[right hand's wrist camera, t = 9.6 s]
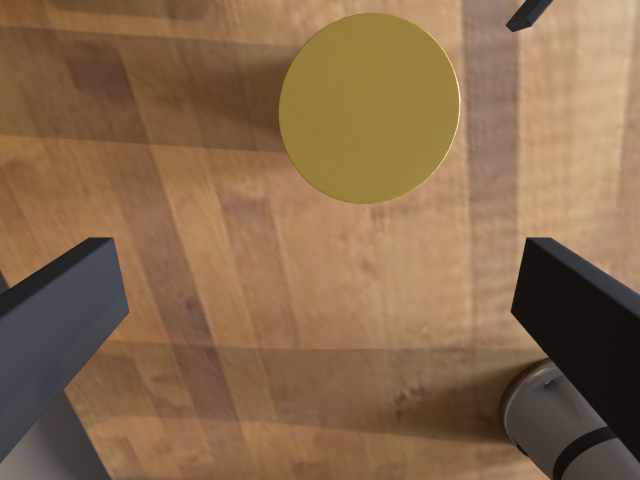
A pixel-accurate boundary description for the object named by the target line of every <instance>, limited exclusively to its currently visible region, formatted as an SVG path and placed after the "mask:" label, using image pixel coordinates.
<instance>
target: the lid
mask: <svg viewBox="0 0 640 480" xmlns="http://www.w3.org/2000/svg"><path fill="white" fill-rule="evenodd" d="M278 114H279V127H280V134H281V137H282V141H283V144H284V147H285V149H286V152H287V154H288V156H289V158H290V160H291V162H292V163H293V165H294V166H295V168H296V169H297V170H298V172H299V173H300V174H301V175H302V176H303V177H304V178H305V179H306V181H307V182H308V183H310V184H311V185H312V186H314V187H315V188H316V189H317V190H319V191H321V192H323V193H324V194H326V195H328V196H330V197H333V198H335V199H338V200H341V201H345V202H349V203H356V204H373V203H381V202H385V201H390V200H393V199H395V198H398V197H401V196H403V195H405V194H407V193H409V192H410V191H412V190H414V189H415V188H416V187H418V186H419V185H421V184H422V183H423V182H424V181H425V180H427V179H428V178H429V177H430V176H431V175H432V174H433V173H434V171H435V170H436V169H437V168H438V167H439V165H440V164H441V162H442V161H443V160H444V158H445V156H446V155H447V153H448V151H449V149H450V147H451V144H452V142H453V140H454V137H455V134H456V130H457V126H458V121H459V114H460V96H459V87H458V83H457V78H456V75H455V72H454V69H453V67H452V64H451V62H450V60H449V59H448V57H447V55H446V53H445V52H444V50H443V49H442V48H441V46H440V45H439V44H438V42H437V41H436V40H435V39H434V38H433V37H432V36H431V35H430V34H429V33H427V32H426V31H425V30H423V29H422V28H421V27H419V26H418V25H416V24H414V23H412V22H410V21H408V20H406V19H403V18H400V17H397V16H394V15H388V14H383V13H365V14H358V15H353V16H350V17H346V18H343V19H341V20H338V21H336V22H334V23H331V24H330V25H328V26H327V27H325V28H323V29H322V30H320V31H319V32H318V33H317V34H315V35H314V36H313V37H312V38H311V39H309V41H308V42H307V43H306V44H305V45H304V46H303V47H302V48H301V49H300V51H299V52H298V54H297V55H296V57H295V58H294V59H293V61H292V63H291V65H290V67H289V69H288V71H287V73H286V76H285V79H284V81H283V84H282V88H281V93H280V98H279V108H278Z"/></svg>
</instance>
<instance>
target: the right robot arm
mask: <svg viewBox="0 0 640 480" xmlns="http://www.w3.org/2000/svg"><path fill="white" fill-rule="evenodd" d="M128 313H129V308H128V303H127V299H126V294H125V289H124V285H123V280H122V275H121V271H120V266H119V261H118V257H117V252H116V247H115V243H114V238H88V239H86V240H85V241H83V242H82V243H80V244H78V245H77V246H75V247H74V248H72V249H71V250H69V251H68V252H66V253H64V254H63V255H61V256H60V257H58V258H57V259H55V260H54V261H52V262H51V263H49V264H47V265H46V266H44V267H43V268H41V269H40V270H38V271H37V272H35V273H33V274H32V275H30V276H29V277H27V278H26V279H24V280H23V281H21V282H19V283H18V284H16V285H15V286H13V287H12V288H10V289H9V290H7V291H6V292H4V293H3V294H1V295H0V463H1V462H2V461H3V460H4V458H5V457H6V456H7V455H8V454H9V453H10V451H11V450H12V449H13V448H14V447H15V446H16V444H17V443H18V442H19V441H20V440H21V439H22V437H23V436H24V435H25V434H26V433H27V432H28V430H29V429H30V428H31V427H32V426H33V424H34V423H35V422H36V421H37V420H38V419H39V417H40V416H41V415H42V414H43V413H44V412H45V410H46V409H47V408H48V407H49V406H50V405H51V403H52V402H53V401H54V400H55V399H56V398H57V396H58V395H59V394H60V393H61V392H62V391H63V389H64V388H65V387H66V386H67V385H68V384H69V382H70V381H71V380H72V379H73V378H74V376H75V375H76V374H77V373H78V372H79V371H80V369H81V368H82V367H83V366H84V365H85V364H86V362H87V361H88V360H89V359H90V358H91V357H92V355H93V354H94V353H95V352H96V351H97V350H98V348H99V347H100V346H101V345H102V344H103V342H104V341H105V340H106V339H107V338H108V337H109V335H110V334H111V333H112V332H113V331H114V330H115V328H116V327H117V326H118V325H119V324H120V323H121V321H122V320H123V319H124V318H125V317H126V316H127V314H128ZM511 313H512V314H513V316H514V317H515V318H516V319H517V320H518V321H519V323H520V324H521V325H522V326H523V327H524V328H525V330H526V331H527V332H528V333H529V334H530V335H531V337H532V338H533V339H534V340H535V341H536V342H537V344H538V345H539V346H540V347H541V348H542V350H543V351H544V352H545V353H546V354H547V355H548V357H549V358H550V359H547V360H544V361H542V362H539V363H537V364H535V365H534V366H532V367H530V368H529V369H527V370H526V371H524V372H523V373H522V374H520V375H519V376H518V377H517V378H516V379H515V380H514V381H513V382H512V383H511V385H510V386H509V387H508V389H507V390H506V392H505V394H504V396H503V399H502V402H501V406H500V418H501V422H502V425H503V427H504V429H505V430H506V432H507V434H508V436H509V438H510V440H511V441H512V442H513V444H514V445H515V446H516V447H517V448H518V449H519V450H520V451H521V452H522V454H523V453H524V454H525V455H526V456H528V457H529V458H530V459H531V460H532V461H533V463H534V464H535V465H536V466H537V467H538V468H539V469H540V470H541V471H542V472H543V473H544V474H545V475H547V476H548V477H549V478H550V479H551V480H640V295H639V294H638V293H636V292H634V291H633V290H631V289H630V288H628V287H627V286H625V285H624V284H622V283H621V282H619V281H617V280H616V279H614V278H613V277H611V276H610V275H608V274H607V273H605V272H603V271H602V270H600V269H599V268H597V267H596V266H594V265H593V264H591V263H589V262H588V261H586V260H585V259H583V258H582V257H580V256H579V255H577V254H576V253H574V252H572V251H571V250H569V249H568V248H566V247H565V246H563V245H562V244H560V243H558V242H557V241H555V240H554V239H552V238H526V243H525V247H524V252H523V257H522V261H521V266H520V271H519V275H518V280H517V285H516V289H515V294H514V299H513V303H512V308H511ZM515 446H514V447H515ZM524 454H523V455H524ZM532 461H531V462H532Z"/></svg>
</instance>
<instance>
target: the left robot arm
mask: <svg viewBox="0 0 640 480" xmlns="http://www.w3.org/2000/svg"><path fill="white" fill-rule="evenodd" d="M552 1H553V0H526V1H525V2H524V3H523V5H522V6H521V7H520V8H519V9H518V11H517V12H516V13H515V14H514V16H513V17H512V18H511V19H510V20H509V22H508V23H507V24H506V26H507V27H508V28H509V29H510V30H511V31H512V32H515V31H518V30H521V29H525V28H528V27H531V26H532V25H533V24H534V23H535V21H536V20H537V19H538V18H539V17H540V15H541V14H542V13H543V12H544V11H545V10H546V8H547V7H548V6H549V5H550V4H551V3H552Z"/></svg>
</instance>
